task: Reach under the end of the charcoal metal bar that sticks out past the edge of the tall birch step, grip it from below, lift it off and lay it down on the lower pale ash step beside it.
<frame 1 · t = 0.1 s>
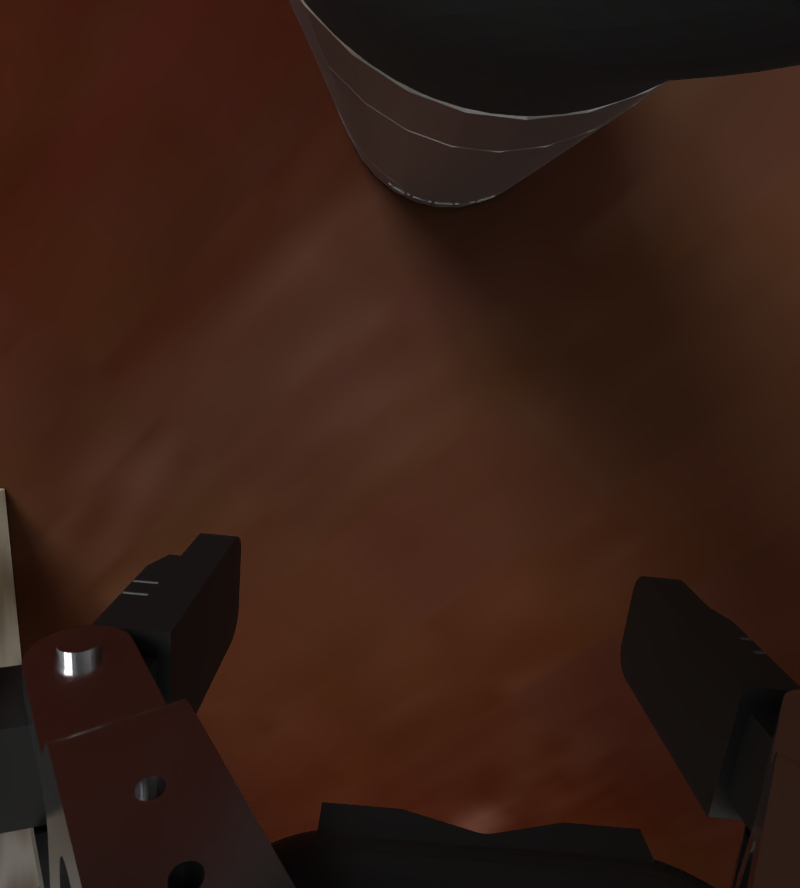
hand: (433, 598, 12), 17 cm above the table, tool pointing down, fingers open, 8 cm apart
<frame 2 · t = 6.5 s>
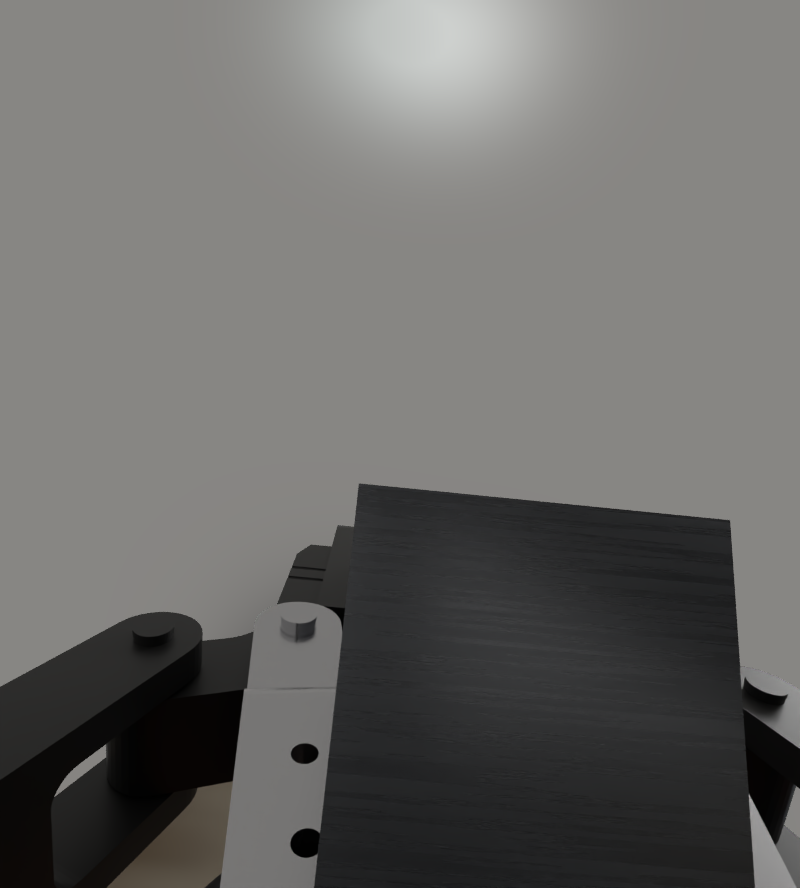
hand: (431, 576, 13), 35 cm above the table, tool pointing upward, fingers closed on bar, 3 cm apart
bar: (403, 686, 18), point 32 cm above the table, touching gripper, stand
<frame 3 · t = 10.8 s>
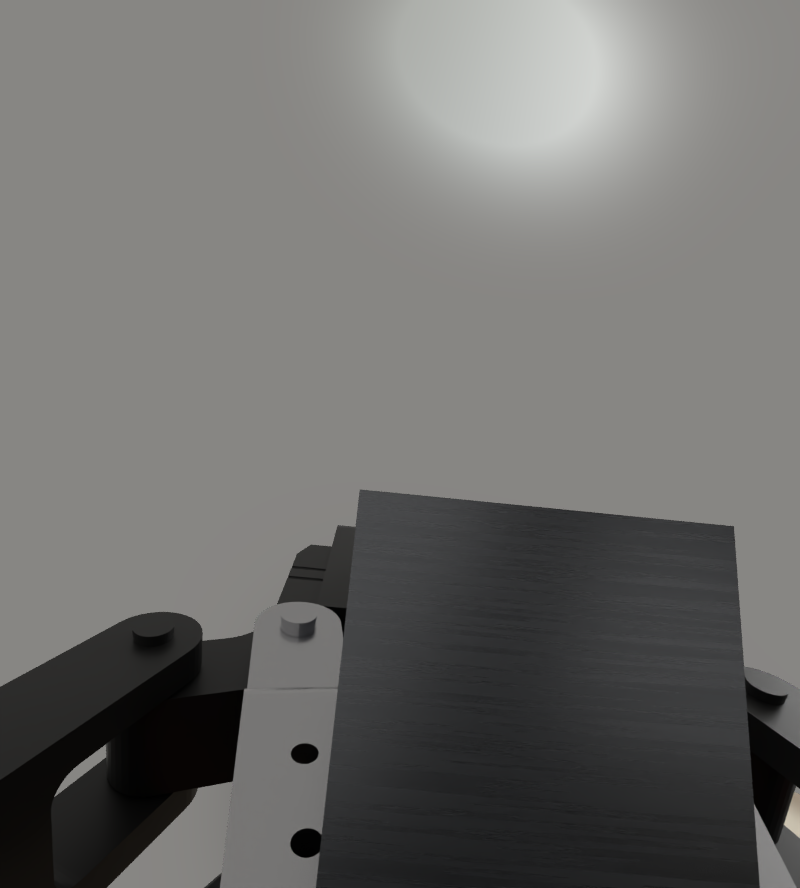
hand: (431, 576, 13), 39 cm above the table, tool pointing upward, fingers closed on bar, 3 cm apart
bar: (403, 690, 18), point 36 cm above the table, touching gripper
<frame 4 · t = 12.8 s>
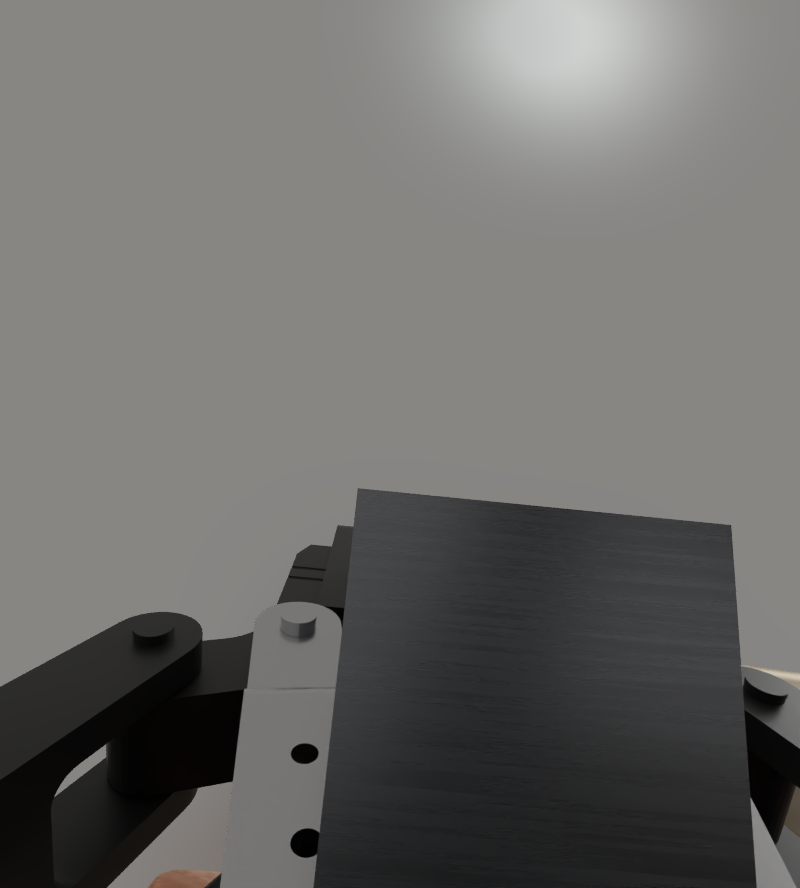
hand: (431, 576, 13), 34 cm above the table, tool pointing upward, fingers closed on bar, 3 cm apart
bar: (403, 689, 18), point 31 cm above the table, touching gripper
when the fingers open (26 cm above the table, at t = 14.9 s): bar drops 2 cm, resting on stand.
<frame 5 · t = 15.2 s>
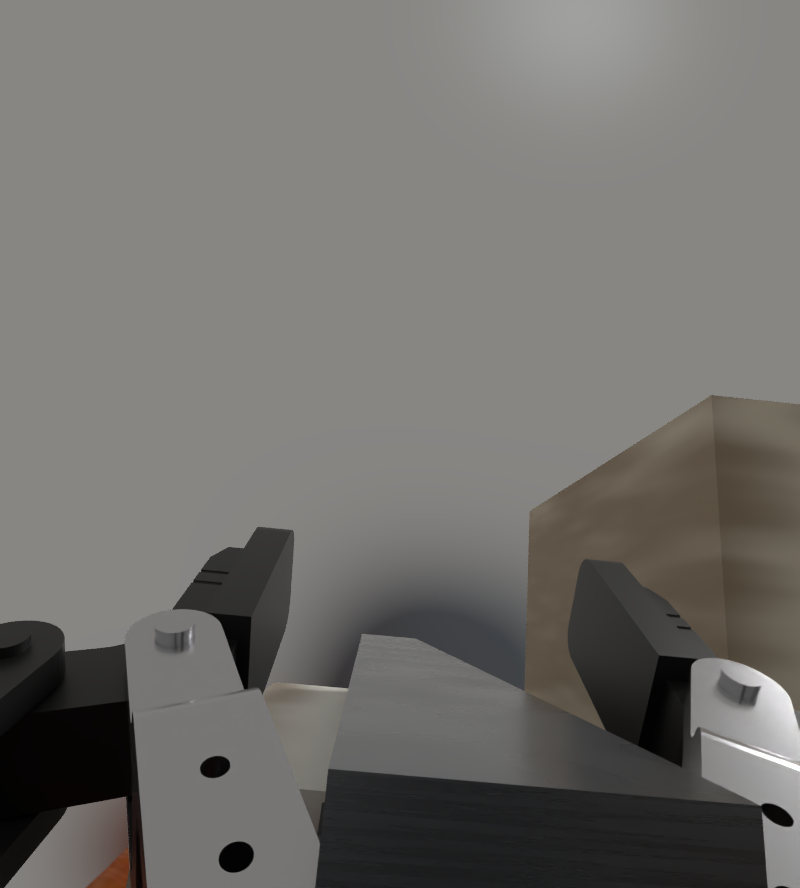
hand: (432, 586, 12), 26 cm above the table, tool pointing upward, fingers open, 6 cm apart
bar: (397, 759, 18), point 21 cm above the table, touching stand
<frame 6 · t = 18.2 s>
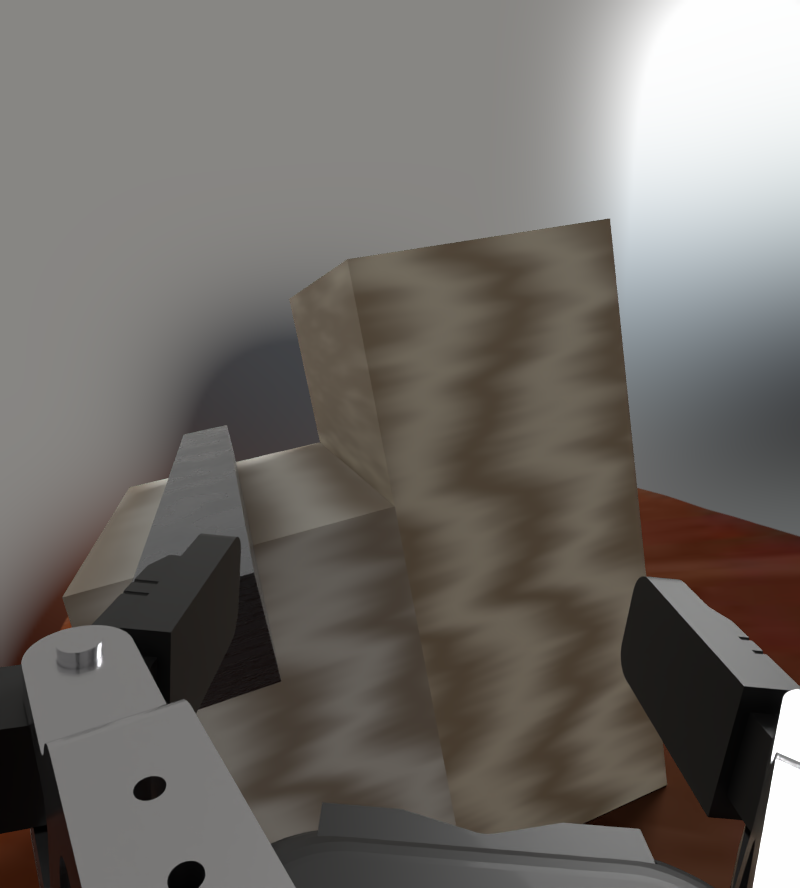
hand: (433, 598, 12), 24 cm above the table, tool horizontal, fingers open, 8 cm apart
stand: (400, 758, 41), on the table
bar: (217, 528, 29), point 21 cm above the table, touching stand
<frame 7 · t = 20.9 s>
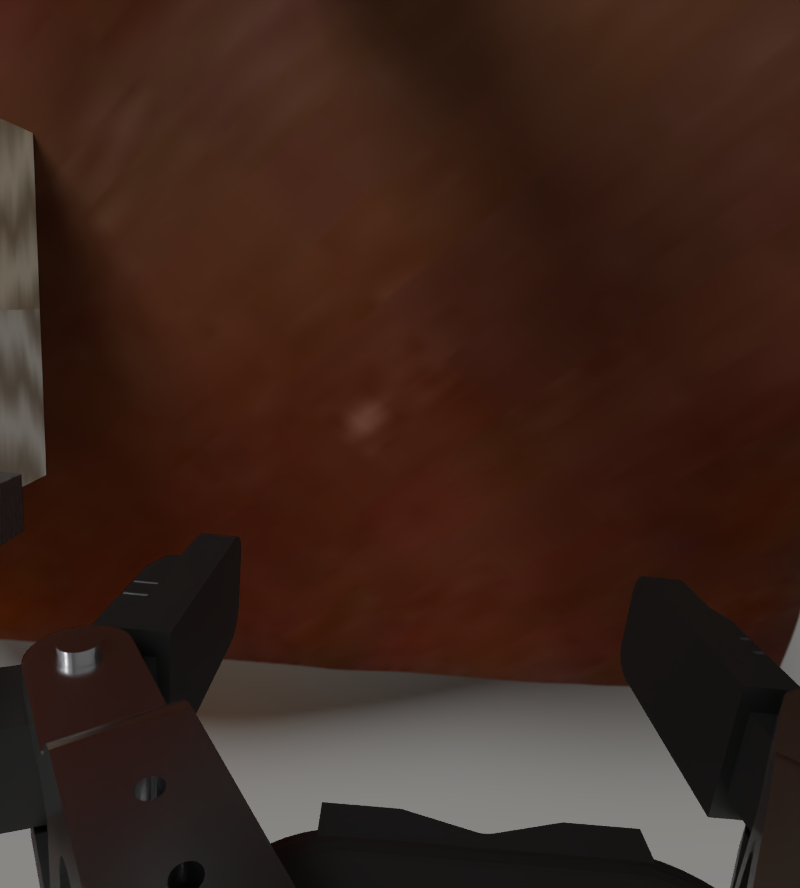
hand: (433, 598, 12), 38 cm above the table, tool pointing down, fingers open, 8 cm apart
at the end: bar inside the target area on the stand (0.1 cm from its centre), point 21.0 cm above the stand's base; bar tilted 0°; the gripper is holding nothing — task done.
